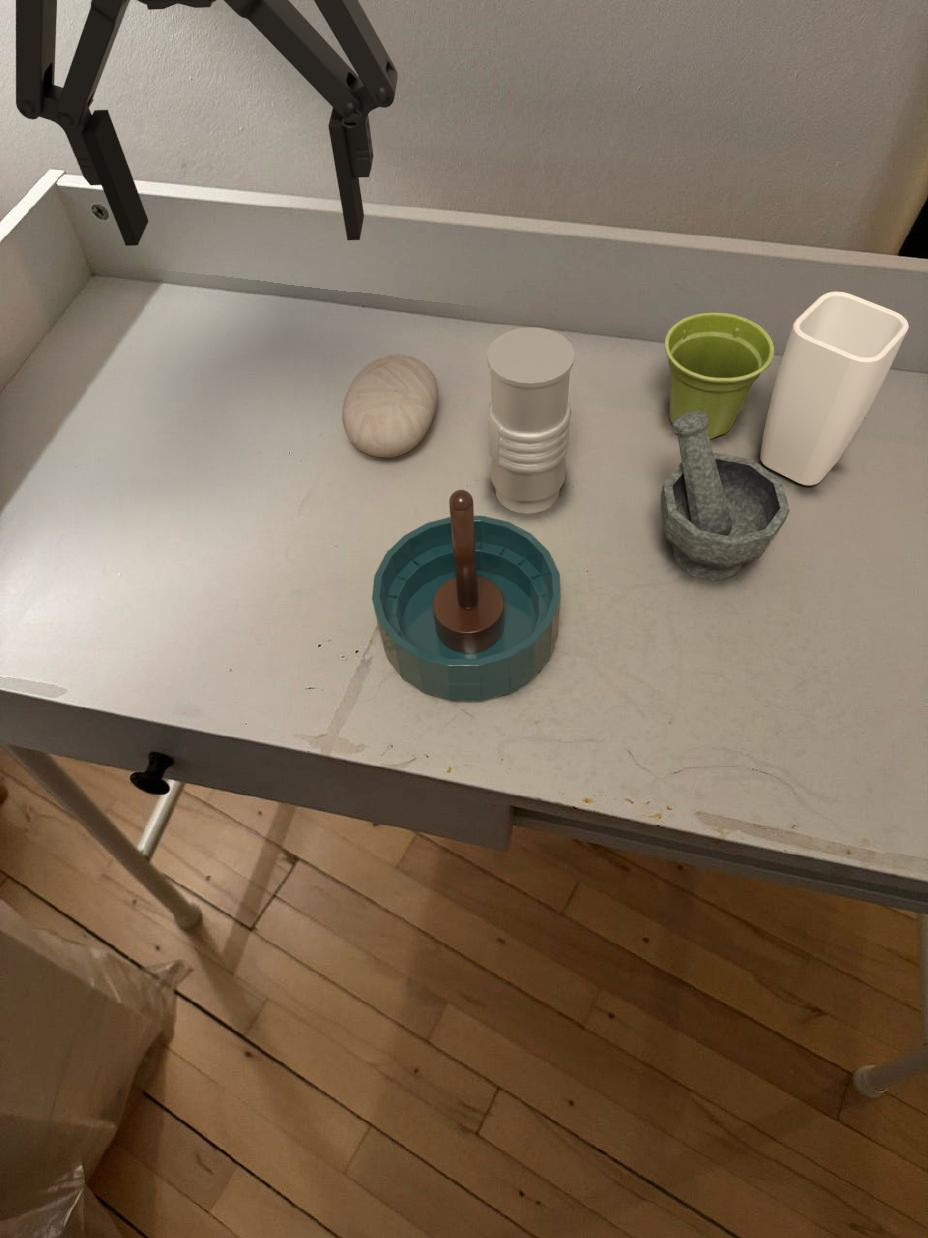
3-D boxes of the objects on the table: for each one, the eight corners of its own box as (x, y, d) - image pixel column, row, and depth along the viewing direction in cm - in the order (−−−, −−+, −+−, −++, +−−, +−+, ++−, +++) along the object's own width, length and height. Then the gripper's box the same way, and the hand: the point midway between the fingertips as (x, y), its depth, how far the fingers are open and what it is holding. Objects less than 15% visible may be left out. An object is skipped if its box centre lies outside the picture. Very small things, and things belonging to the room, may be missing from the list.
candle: (476, 479, 77) (469, 344, 65) (541, 453, 79) (546, 316, 67) (512, 528, 74) (512, 395, 61) (579, 500, 75) (592, 364, 63)
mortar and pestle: (790, 561, 70) (836, 458, 60) (710, 616, 68) (744, 517, 58) (696, 485, 76) (723, 379, 66) (618, 532, 73) (634, 429, 63)
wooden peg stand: (433, 654, 66) (415, 526, 53) (436, 597, 69) (420, 463, 56) (504, 653, 65) (503, 525, 53) (504, 596, 69) (503, 462, 56)
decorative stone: (369, 377, 86) (362, 337, 82) (453, 388, 85) (450, 347, 81) (330, 464, 79) (320, 424, 75) (420, 477, 78) (415, 437, 74)
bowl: (375, 706, 64) (364, 666, 59) (389, 562, 72) (380, 516, 67) (560, 706, 63) (564, 665, 59) (553, 561, 72) (556, 514, 67)
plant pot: (743, 462, 77) (766, 388, 70) (642, 442, 79) (655, 368, 72) (757, 397, 82) (780, 321, 75) (662, 380, 84) (676, 304, 77)
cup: (853, 458, 77) (917, 319, 65) (813, 503, 74) (873, 366, 62) (782, 424, 80) (831, 285, 68) (741, 466, 77) (785, 328, 65)
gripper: (-233, -234, 32) (28, 270, 49) (412, -270, 31) (446, 260, 48) (-146, -275, 36) (66, 202, 54) (423, -307, 35) (451, 192, 52)
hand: (246, 231), depth 51 cm, fingers open, 13 cm apart
